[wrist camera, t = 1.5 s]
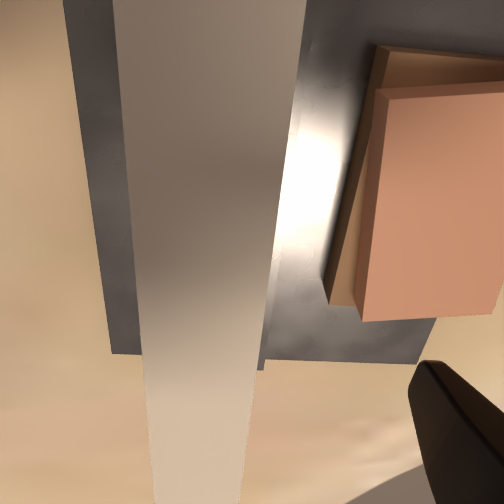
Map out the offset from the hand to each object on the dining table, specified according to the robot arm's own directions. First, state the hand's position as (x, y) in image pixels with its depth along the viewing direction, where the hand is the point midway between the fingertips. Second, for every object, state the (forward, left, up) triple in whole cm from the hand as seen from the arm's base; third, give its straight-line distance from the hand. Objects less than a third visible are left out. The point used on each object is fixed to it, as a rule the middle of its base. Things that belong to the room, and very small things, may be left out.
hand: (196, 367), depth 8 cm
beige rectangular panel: (0, 0, -9) cm, 9 cm away
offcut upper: (+8, 0, -8) cm, 11 cm away
